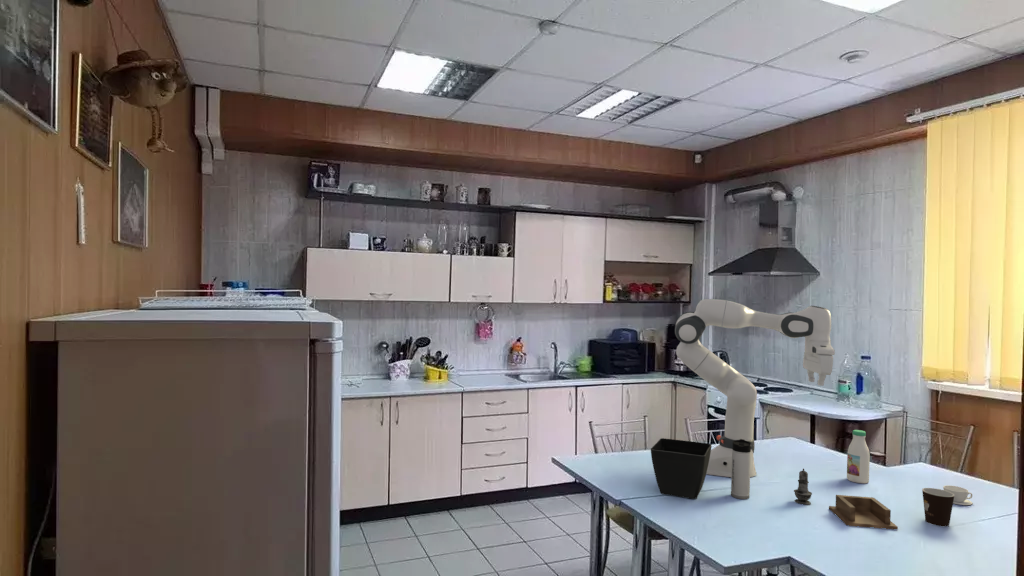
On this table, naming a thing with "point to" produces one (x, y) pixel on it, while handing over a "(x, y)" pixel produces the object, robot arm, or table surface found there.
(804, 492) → the grey chess piece
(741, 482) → the travel mug
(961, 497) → the teacup
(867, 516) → the u-rest
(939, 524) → the coffee mug
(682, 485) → the flower pot
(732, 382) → the robot arm
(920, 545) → the table surface
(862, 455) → the milk bottle
